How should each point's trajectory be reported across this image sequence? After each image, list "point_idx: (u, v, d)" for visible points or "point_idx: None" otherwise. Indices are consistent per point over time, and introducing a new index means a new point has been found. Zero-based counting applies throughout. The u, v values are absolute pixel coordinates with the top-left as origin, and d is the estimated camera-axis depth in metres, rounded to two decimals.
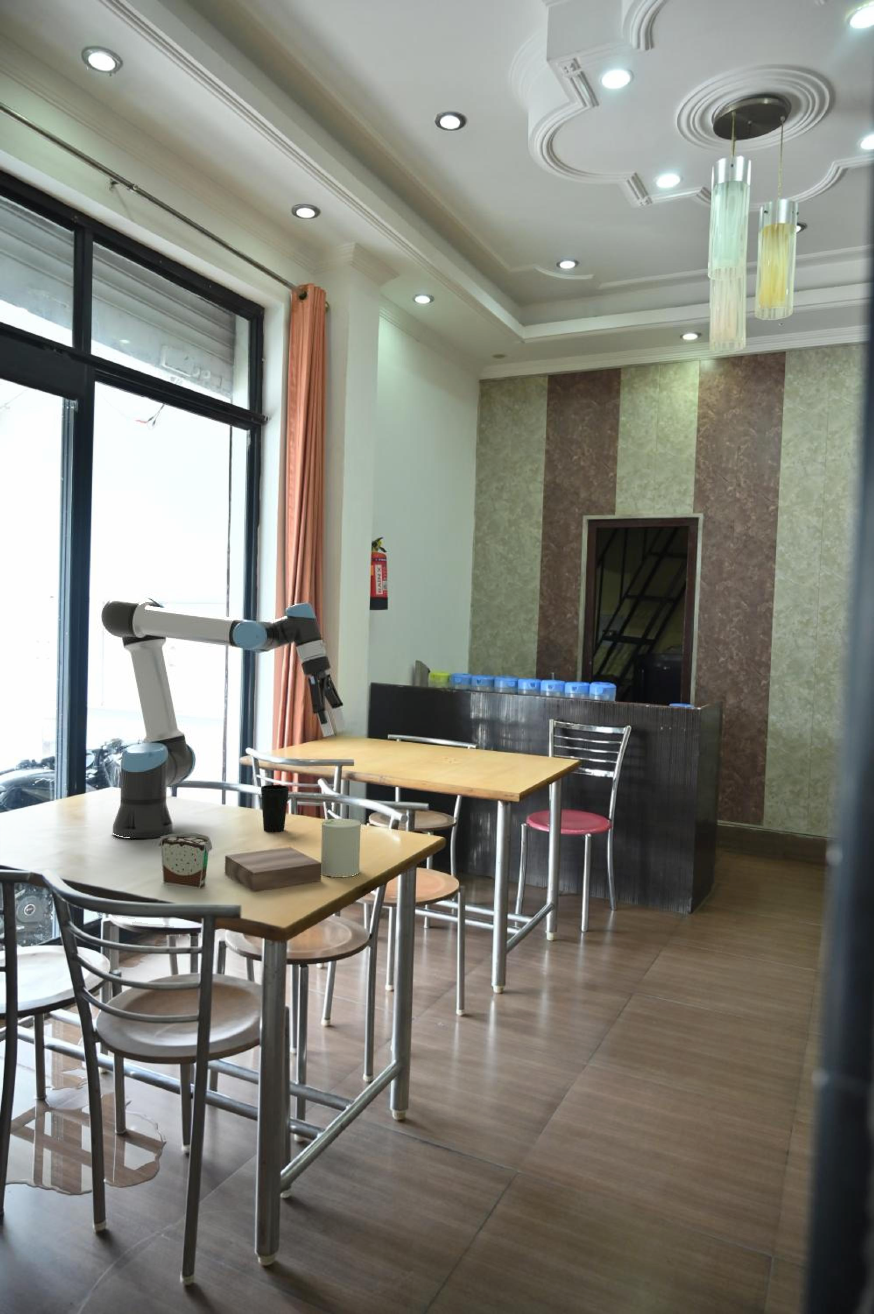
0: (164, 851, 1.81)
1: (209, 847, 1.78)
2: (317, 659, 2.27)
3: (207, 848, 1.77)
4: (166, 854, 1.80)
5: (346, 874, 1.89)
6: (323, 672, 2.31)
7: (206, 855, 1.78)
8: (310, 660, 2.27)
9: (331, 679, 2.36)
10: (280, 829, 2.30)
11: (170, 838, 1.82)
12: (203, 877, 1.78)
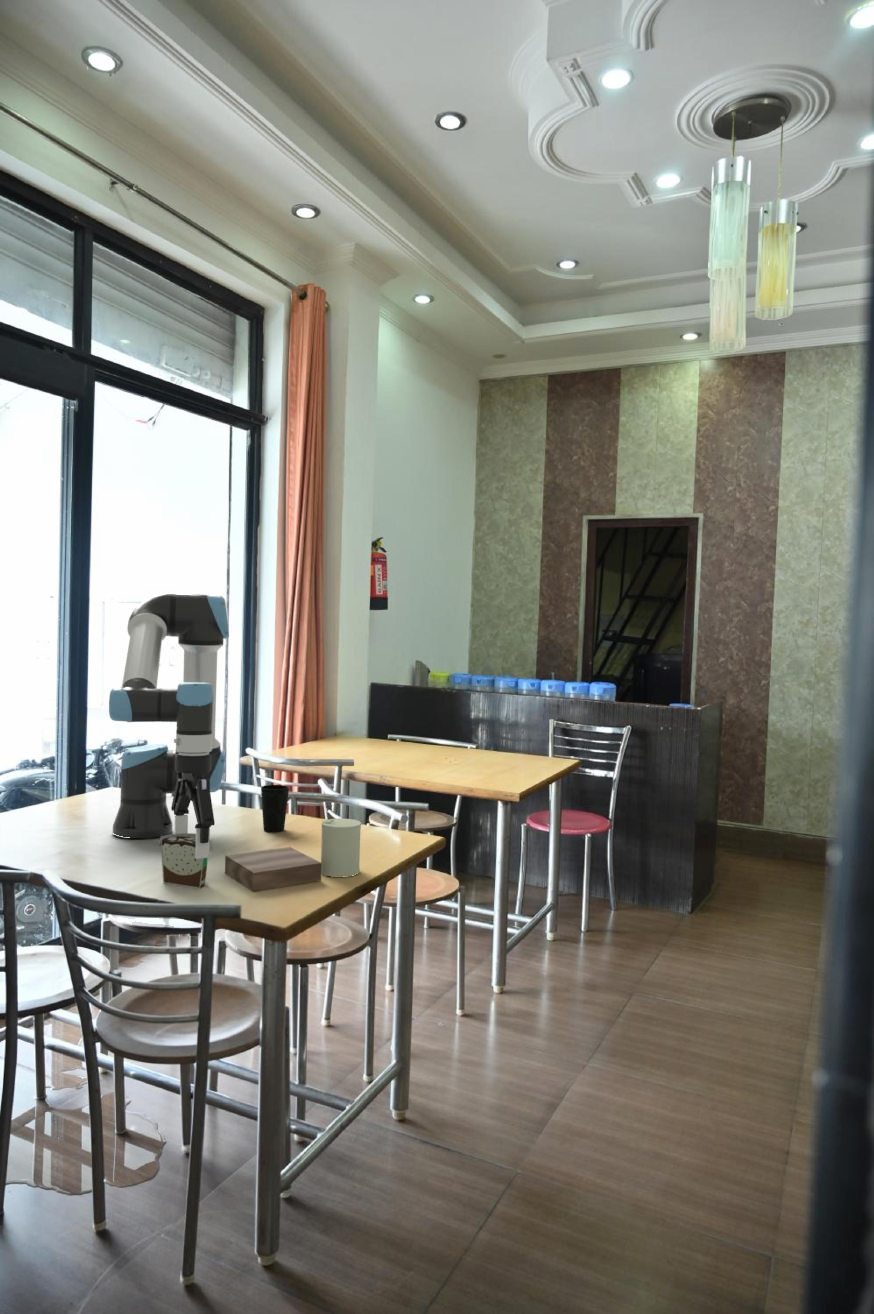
0: (164, 851, 1.81)
1: (209, 847, 1.78)
2: None
3: None
4: (166, 854, 1.80)
5: (346, 874, 1.89)
6: (190, 774, 1.80)
7: None
8: None
9: (198, 789, 1.75)
10: (280, 829, 2.30)
11: (170, 838, 1.82)
12: (203, 877, 1.78)
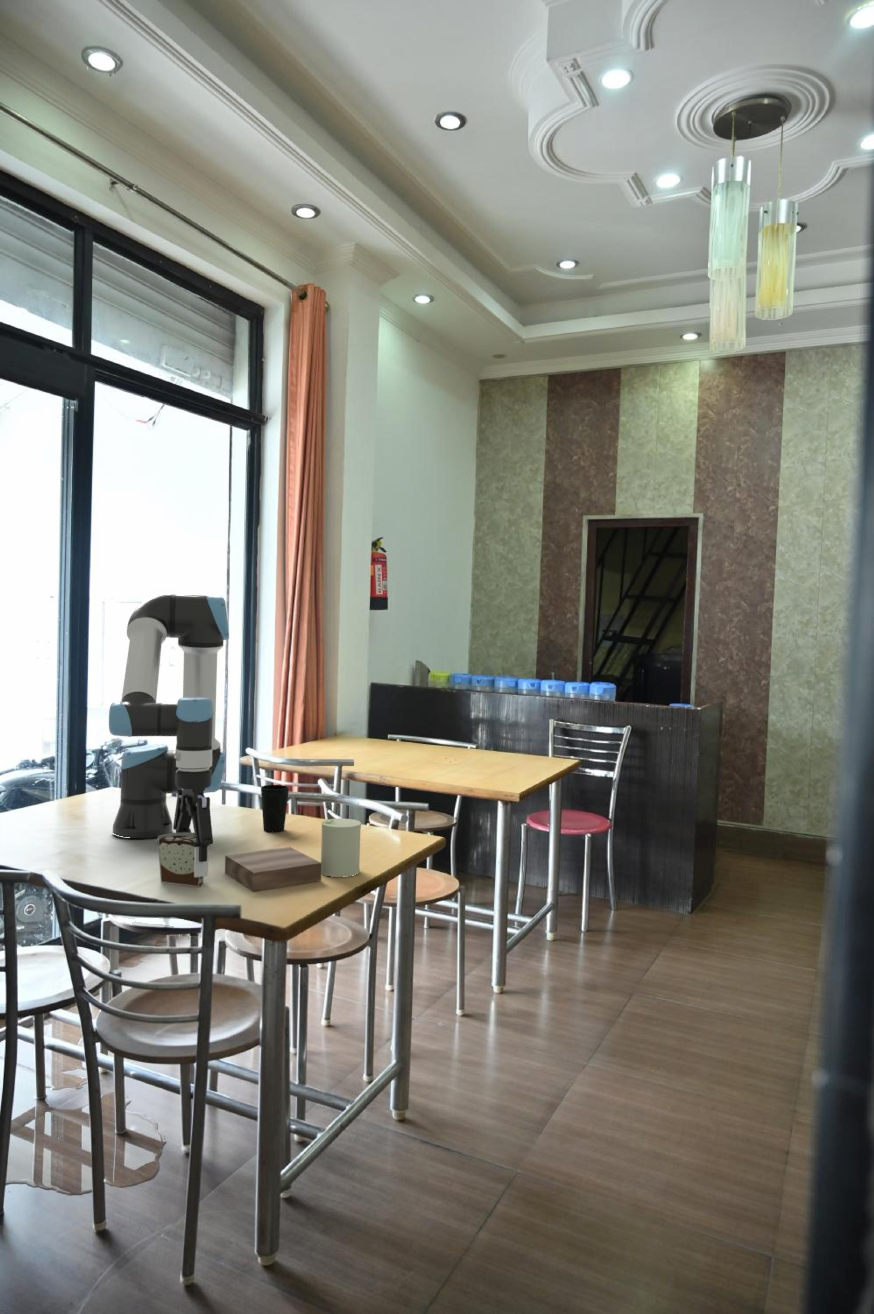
0: (161, 850, 1.81)
1: None
2: None
3: None
4: (163, 853, 1.81)
5: (346, 874, 1.89)
6: (190, 790, 1.80)
7: None
8: None
9: (198, 807, 1.75)
10: (280, 829, 2.30)
11: (167, 837, 1.83)
12: None
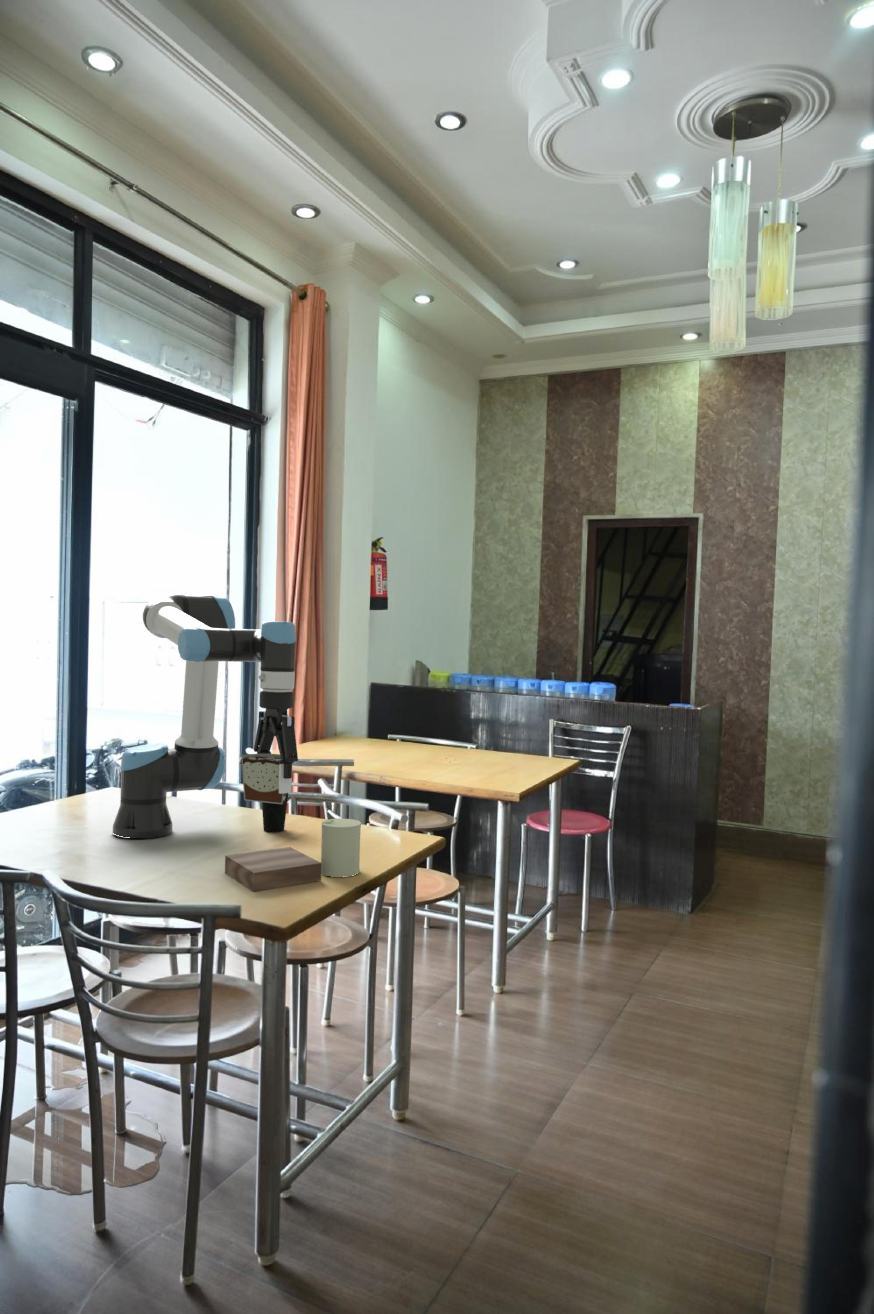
0: (245, 769, 1.87)
1: None
2: None
3: None
4: (247, 772, 1.86)
5: (346, 874, 1.89)
6: (274, 710, 1.85)
7: None
8: None
9: (284, 725, 1.81)
10: (280, 829, 2.30)
11: (250, 757, 1.88)
12: (284, 793, 1.85)
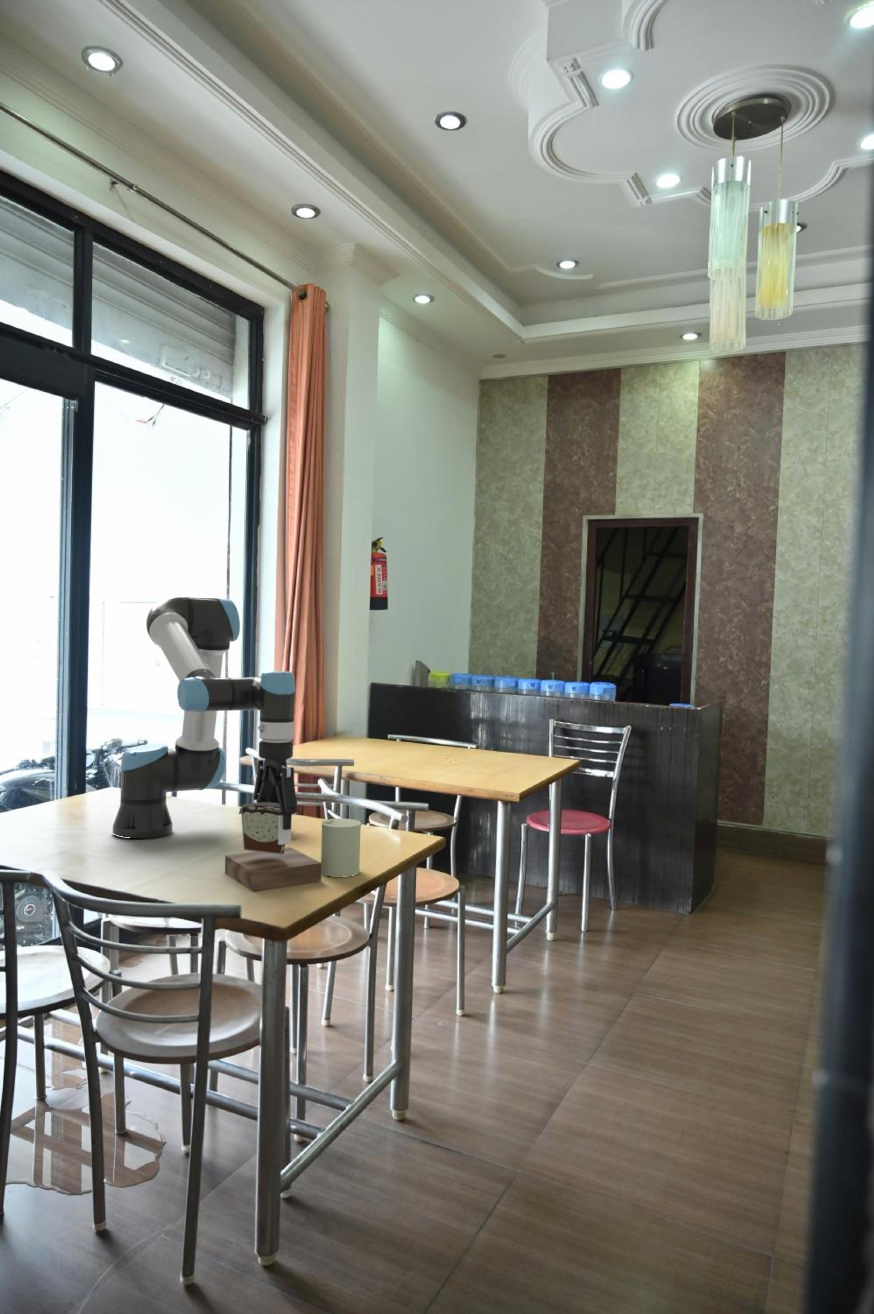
0: (244, 819, 1.87)
1: None
2: None
3: None
4: (246, 822, 1.87)
5: (346, 874, 1.89)
6: (273, 760, 1.85)
7: None
8: None
9: (283, 777, 1.81)
10: None
11: (249, 807, 1.89)
12: None
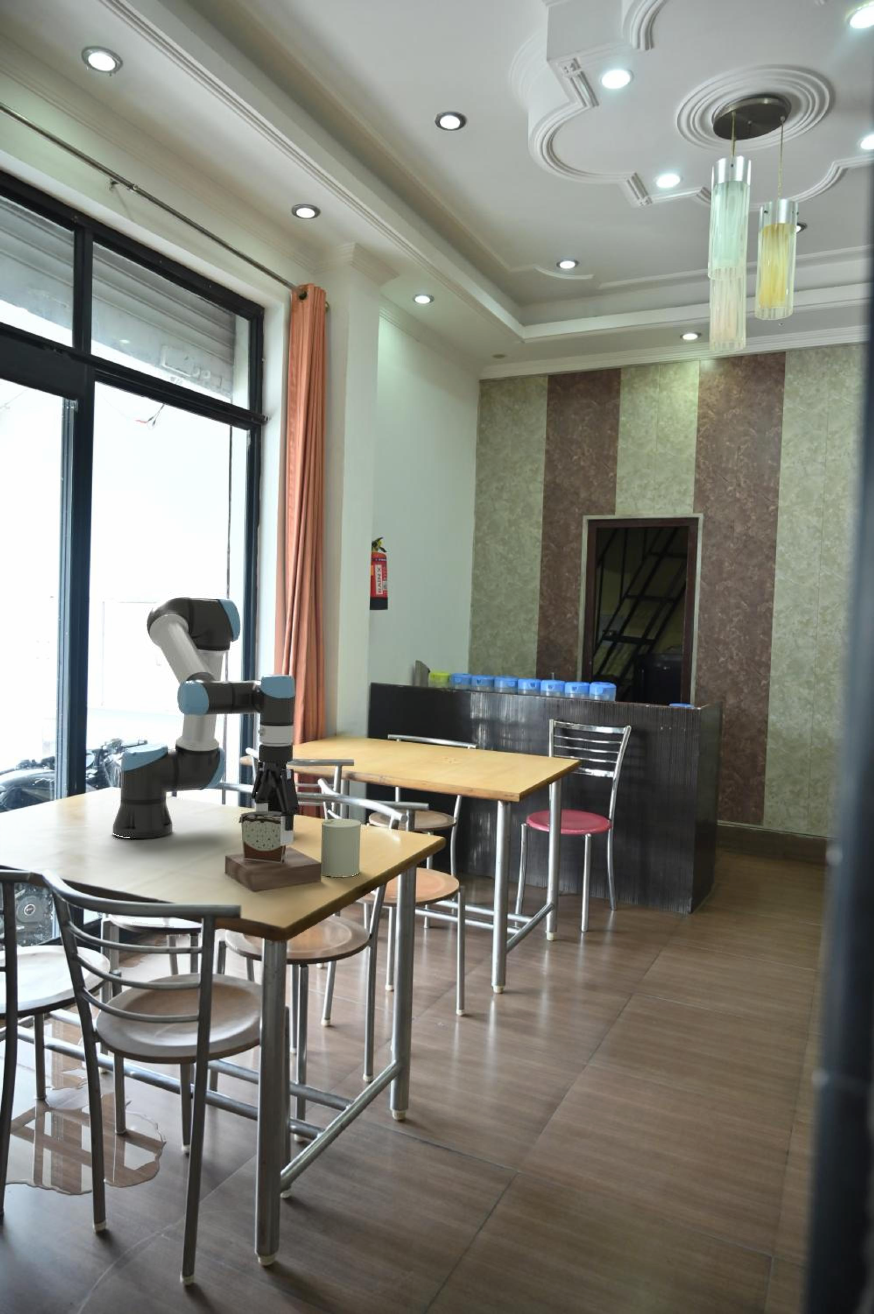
0: (244, 828, 1.87)
1: None
2: None
3: None
4: (246, 831, 1.87)
5: (346, 874, 1.89)
6: (273, 764, 1.85)
7: None
8: None
9: (283, 778, 1.81)
10: None
11: (249, 816, 1.89)
12: (284, 852, 1.85)
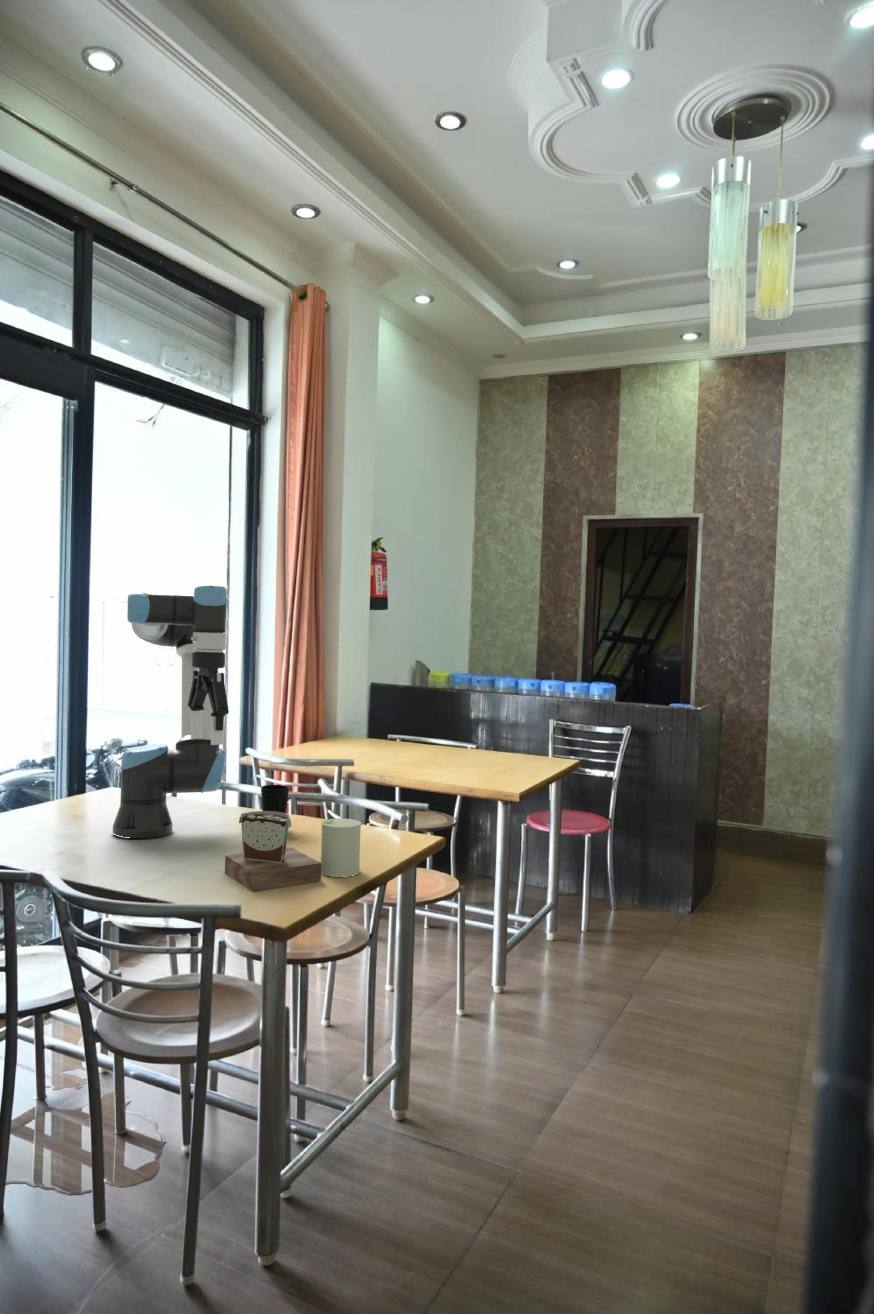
0: (244, 828, 1.87)
1: (290, 823, 1.85)
2: None
3: (288, 824, 1.84)
4: (246, 831, 1.87)
5: (346, 874, 1.89)
6: (206, 669, 1.95)
7: (287, 831, 1.85)
8: None
9: (213, 680, 1.91)
10: None
11: (249, 815, 1.89)
12: (284, 852, 1.85)
